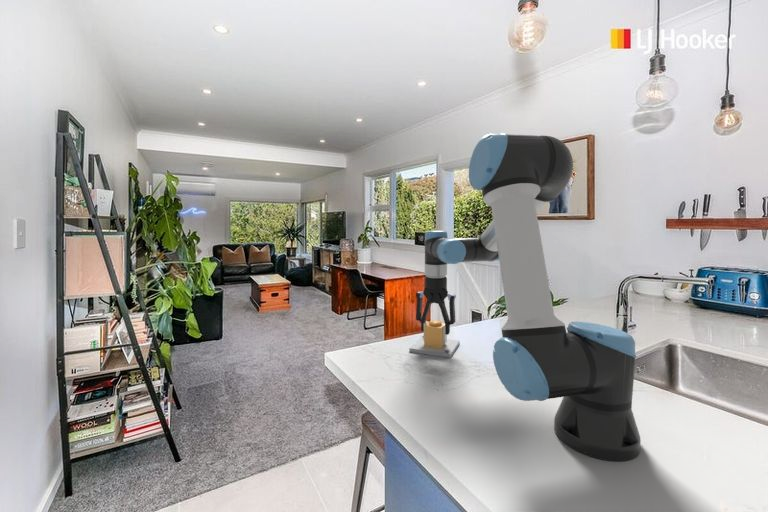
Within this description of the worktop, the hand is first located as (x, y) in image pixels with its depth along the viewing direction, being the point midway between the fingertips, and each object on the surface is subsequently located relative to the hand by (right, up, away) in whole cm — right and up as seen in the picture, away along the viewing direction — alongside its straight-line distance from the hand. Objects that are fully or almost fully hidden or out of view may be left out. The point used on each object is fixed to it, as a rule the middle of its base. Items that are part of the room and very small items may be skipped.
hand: (435, 341), depth 125 cm
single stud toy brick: (0, -1, 0) cm, 1 cm away
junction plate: (0, -2, 0) cm, 2 cm away
